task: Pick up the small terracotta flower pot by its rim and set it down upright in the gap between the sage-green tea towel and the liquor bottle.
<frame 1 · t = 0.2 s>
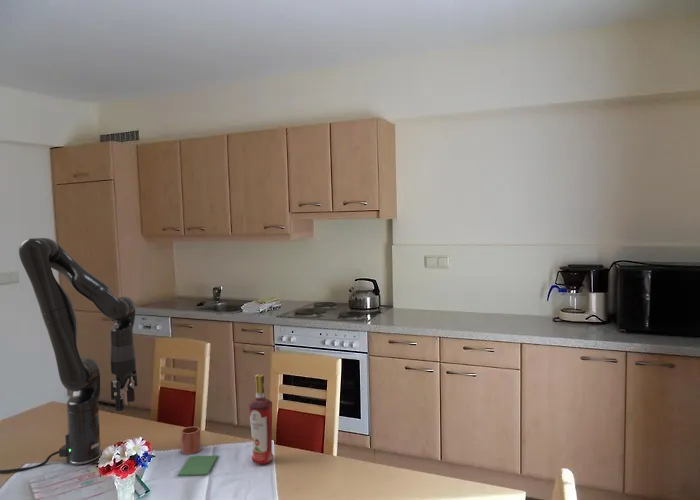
hand: (125, 405, 165), 17 cm above the table, tool pointing down, fingers open, 8 cm apart
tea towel: (198, 466, 158), on the table
liquor: (262, 461, 160), on the table
flower pot: (191, 450, 170), on the table
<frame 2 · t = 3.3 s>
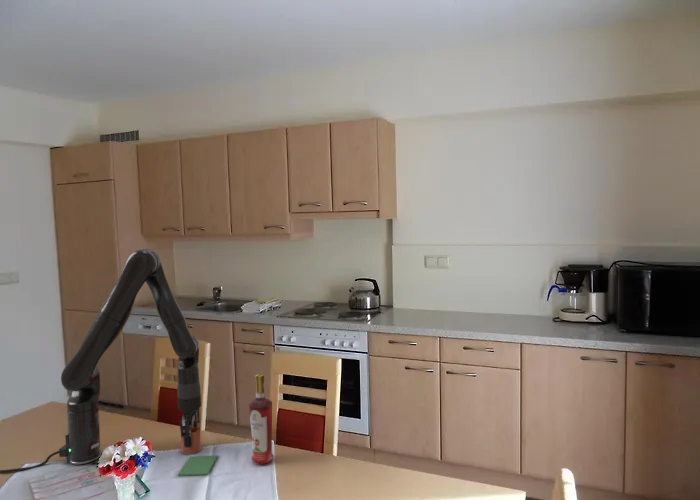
hand: (191, 442, 169), 3 cm above the table, tool pointing down, fingers closed on flower pot, 6 cm apart
flower pot: (191, 450, 170), on the table, touching gripper
everything else where it was.
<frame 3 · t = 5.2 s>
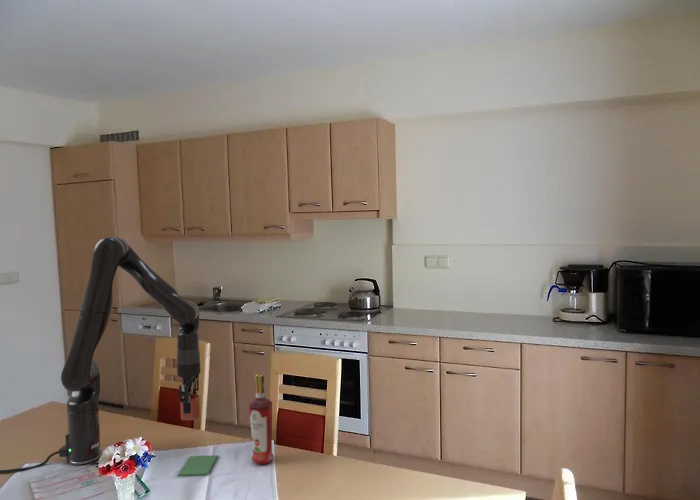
hand: (190, 409, 169), 14 cm above the table, tool pointing down, fingers closed on flower pot, 6 cm apart
flower pot: (190, 417, 169), point 11 cm above the table, touching gripper
everything else where it was.
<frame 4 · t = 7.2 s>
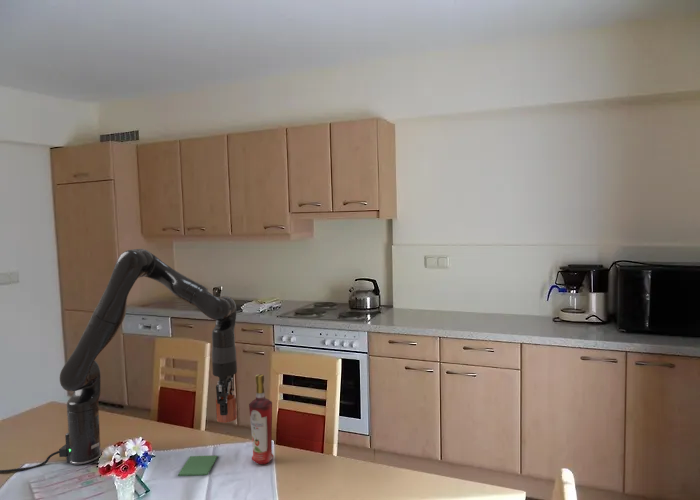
hand: (226, 410, 159), 17 cm above the table, tool pointing down, fingers closed on flower pot, 6 cm apart
flower pot: (226, 418, 159), point 14 cm above the table, touching gripper
everything else where it was.
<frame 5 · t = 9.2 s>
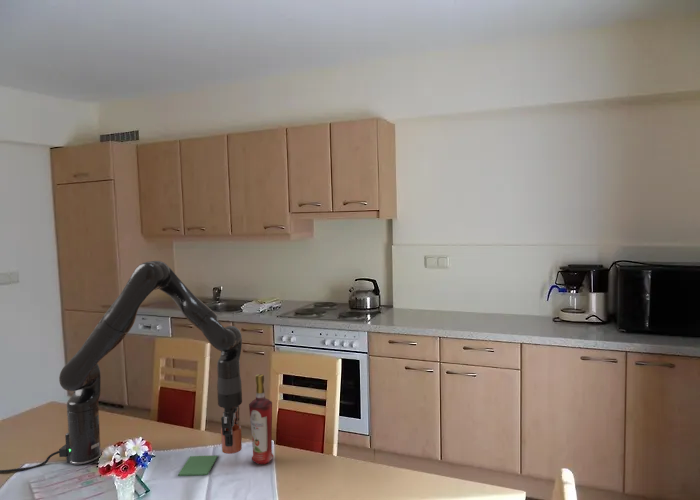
hand: (231, 441, 158), 7 cm above the table, tool pointing down, fingers closed on flower pot, 6 cm apart
flower pot: (231, 449, 159), point 5 cm above the table, touching gripper
everything else where it was.
when the fingers open (3 cm above the table, at t = 10.9 s): flower pot stays where it is, on the table.
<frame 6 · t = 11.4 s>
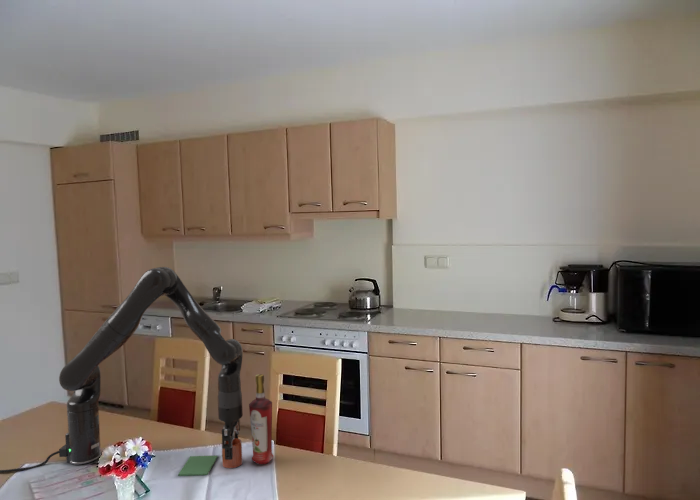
hand: (232, 453, 159), 3 cm above the table, tool pointing down, fingers open, 8 cm apart
flower pot: (232, 463, 159), on the table
everything else where it was.
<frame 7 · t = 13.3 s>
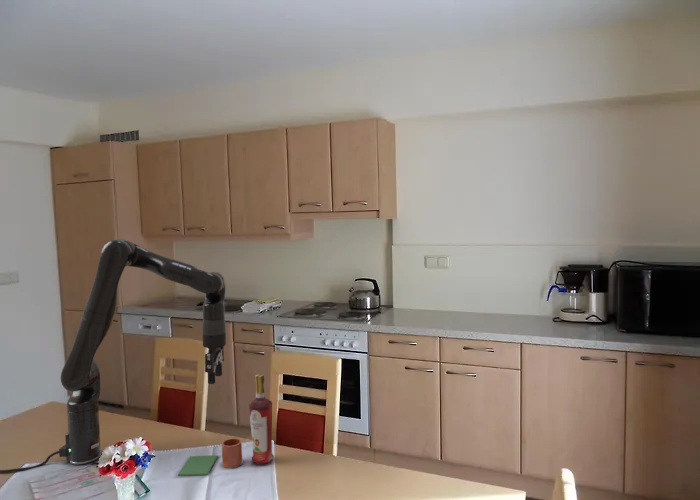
hand: (215, 379, 167), 25 cm above the table, tool pointing down, fingers open, 8 cm apart
nothing on the table moved.
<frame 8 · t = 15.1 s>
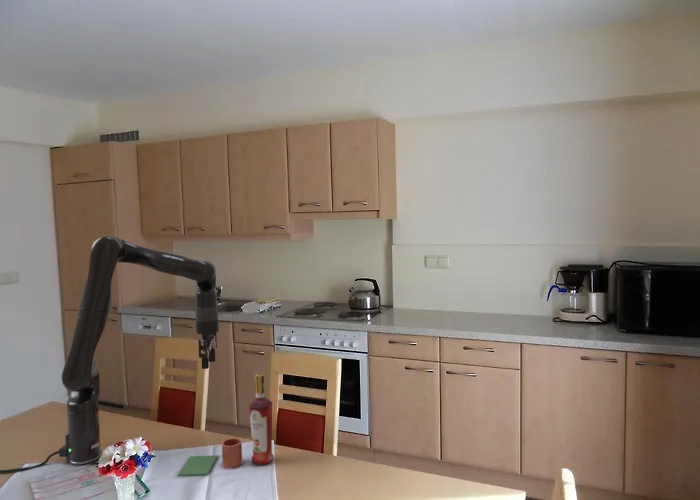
hand: (208, 365, 172), 28 cm above the table, tool pointing down, fingers open, 8 cm apart
nothing on the table moved.
at the end: flower pot inside the target area (0.0 cm from its centre), on the table; flower pot tilted 0°; liquor moved 0.2 cm from its start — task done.
